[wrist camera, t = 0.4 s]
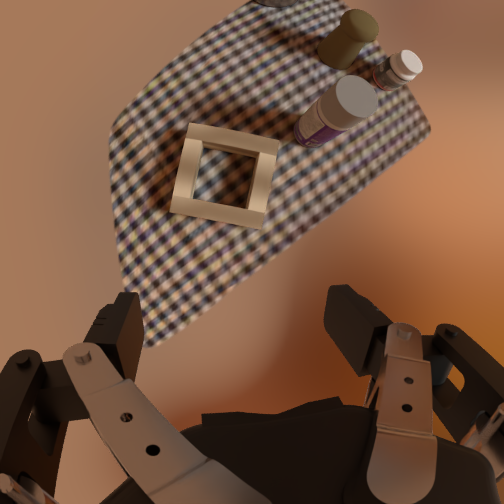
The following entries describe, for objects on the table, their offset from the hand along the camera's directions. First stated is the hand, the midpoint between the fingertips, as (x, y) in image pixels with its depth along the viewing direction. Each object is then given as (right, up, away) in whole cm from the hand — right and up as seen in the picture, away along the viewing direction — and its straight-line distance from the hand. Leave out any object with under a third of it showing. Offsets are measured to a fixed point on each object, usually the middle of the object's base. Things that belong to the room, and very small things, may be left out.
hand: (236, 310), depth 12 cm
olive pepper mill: (+14, +33, +24) cm, 43 cm away
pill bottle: (+22, +30, +25) cm, 45 cm away
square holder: (-3, +12, +25) cm, 28 cm away
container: (+9, +19, +25) cm, 33 cm away
